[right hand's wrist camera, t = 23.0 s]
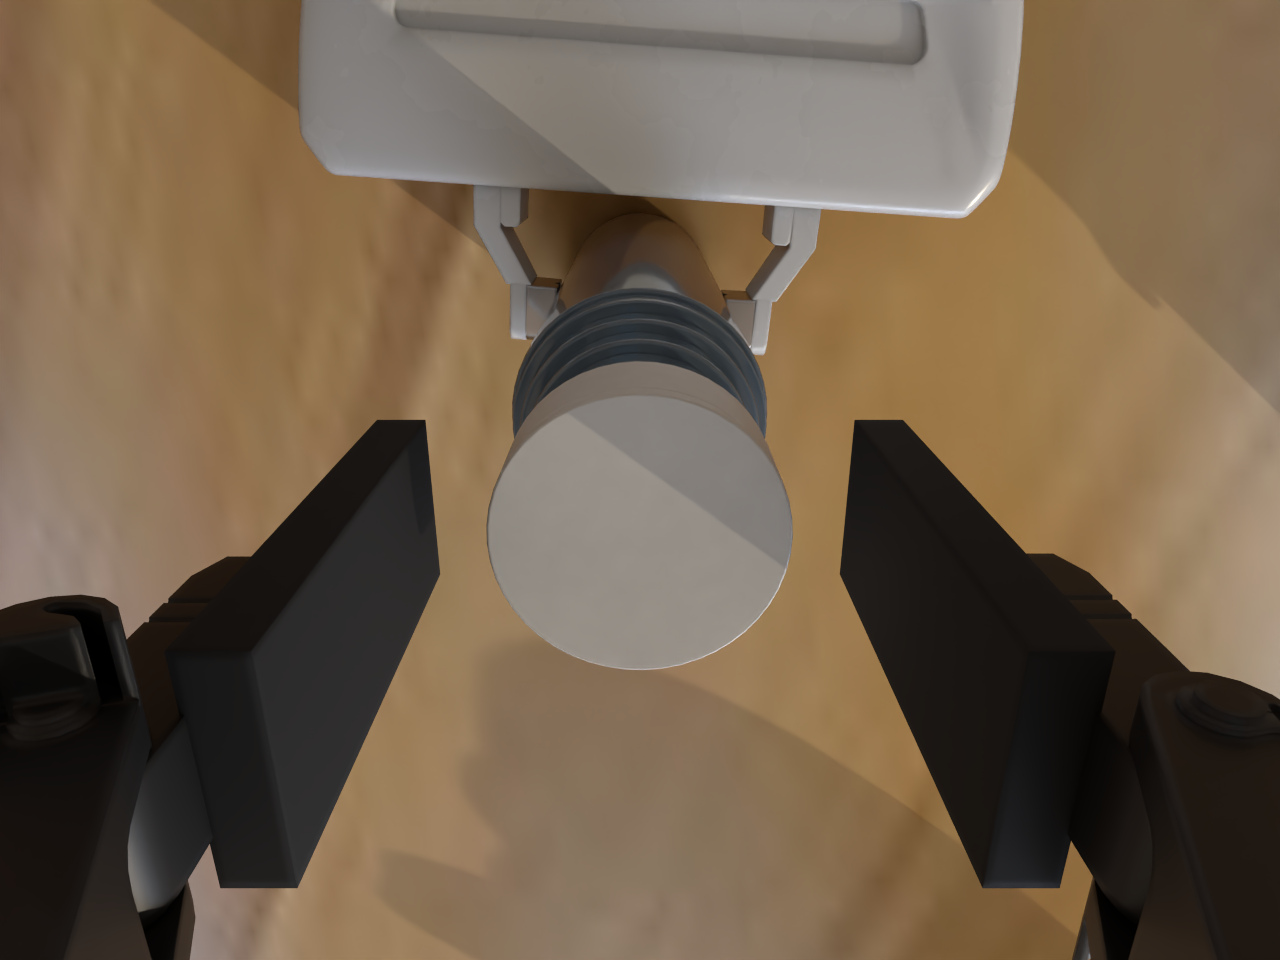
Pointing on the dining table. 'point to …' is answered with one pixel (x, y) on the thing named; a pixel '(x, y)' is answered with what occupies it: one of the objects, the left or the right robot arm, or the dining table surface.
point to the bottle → (639, 316)
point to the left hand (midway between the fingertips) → (639, 343)
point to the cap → (639, 518)
